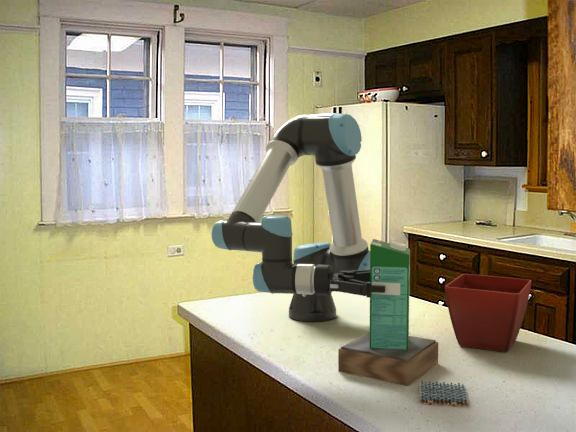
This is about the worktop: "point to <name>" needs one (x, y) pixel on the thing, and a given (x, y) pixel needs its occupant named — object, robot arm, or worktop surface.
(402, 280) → the milk carton
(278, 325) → the worktop surface
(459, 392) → the woven mat
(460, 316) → the plant pot
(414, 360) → the podium
